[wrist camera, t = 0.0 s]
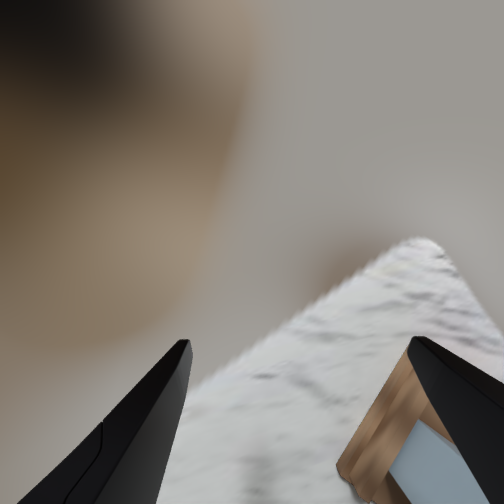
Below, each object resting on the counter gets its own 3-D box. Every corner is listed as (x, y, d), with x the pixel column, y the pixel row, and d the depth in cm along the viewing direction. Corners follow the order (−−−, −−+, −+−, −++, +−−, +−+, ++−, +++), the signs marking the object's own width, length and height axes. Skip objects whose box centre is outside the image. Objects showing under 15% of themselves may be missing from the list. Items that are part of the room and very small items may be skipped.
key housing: (415, 526, 21) (467, 606, 16) (335, 464, 22) (360, 522, 17) (491, 390, 22) (561, 423, 17) (413, 336, 23) (458, 353, 18)
